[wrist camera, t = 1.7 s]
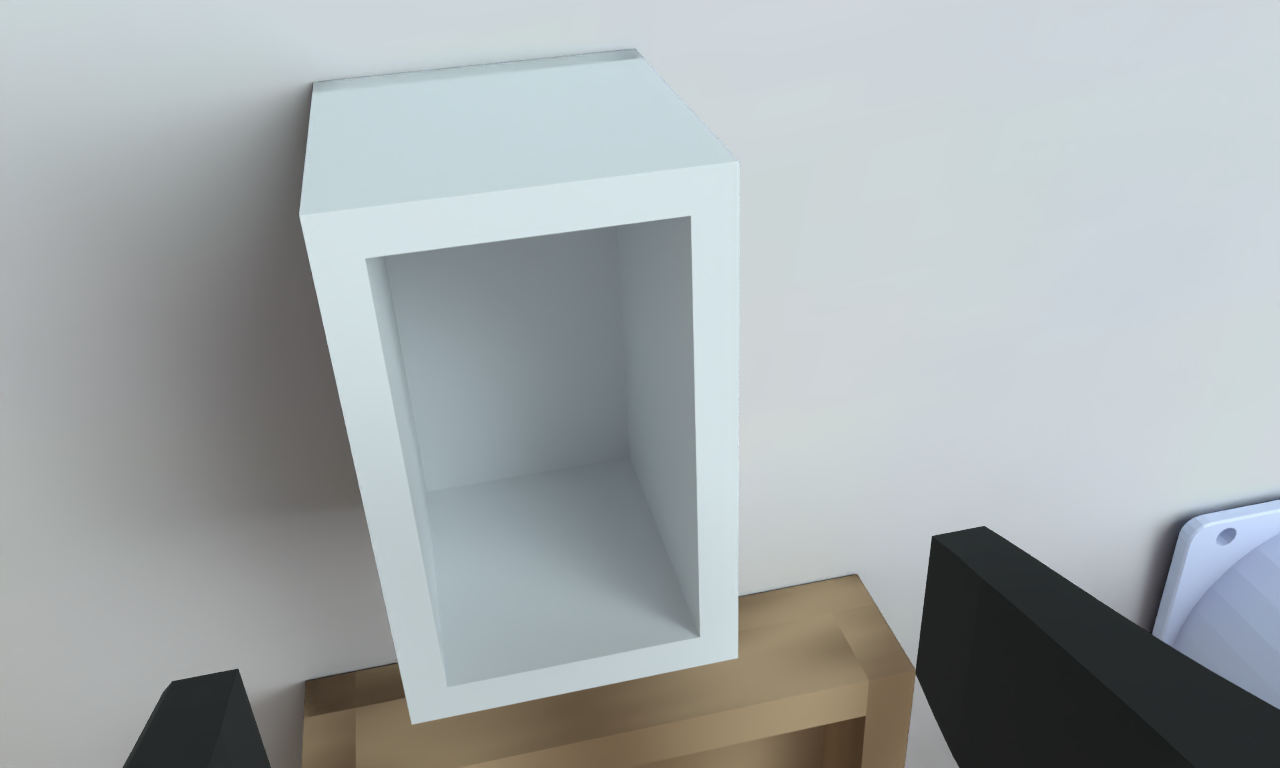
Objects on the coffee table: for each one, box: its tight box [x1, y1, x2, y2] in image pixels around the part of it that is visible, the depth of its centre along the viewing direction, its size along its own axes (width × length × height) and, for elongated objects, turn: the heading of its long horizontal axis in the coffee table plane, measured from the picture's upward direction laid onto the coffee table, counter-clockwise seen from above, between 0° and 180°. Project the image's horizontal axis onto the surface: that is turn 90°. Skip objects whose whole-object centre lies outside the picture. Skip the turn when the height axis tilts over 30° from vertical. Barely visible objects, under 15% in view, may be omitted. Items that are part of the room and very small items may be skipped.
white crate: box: [299, 49, 740, 725], centre depth 17 cm, size 5×8×6 cm, turn 3°
